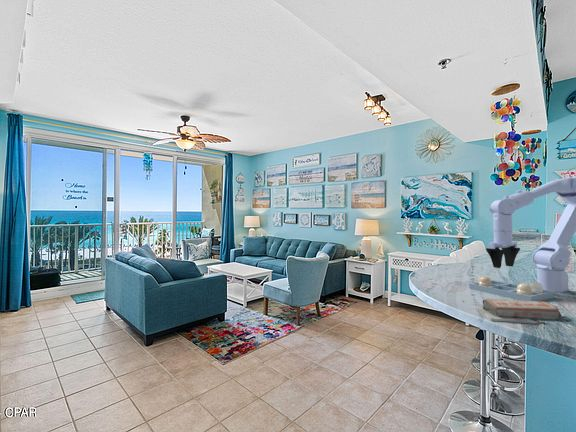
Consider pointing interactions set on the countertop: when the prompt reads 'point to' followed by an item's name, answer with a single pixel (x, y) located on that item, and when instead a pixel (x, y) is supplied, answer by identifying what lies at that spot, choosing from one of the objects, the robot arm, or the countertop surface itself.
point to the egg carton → (510, 291)
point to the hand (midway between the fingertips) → (503, 266)
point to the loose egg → (485, 281)
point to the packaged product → (518, 311)
